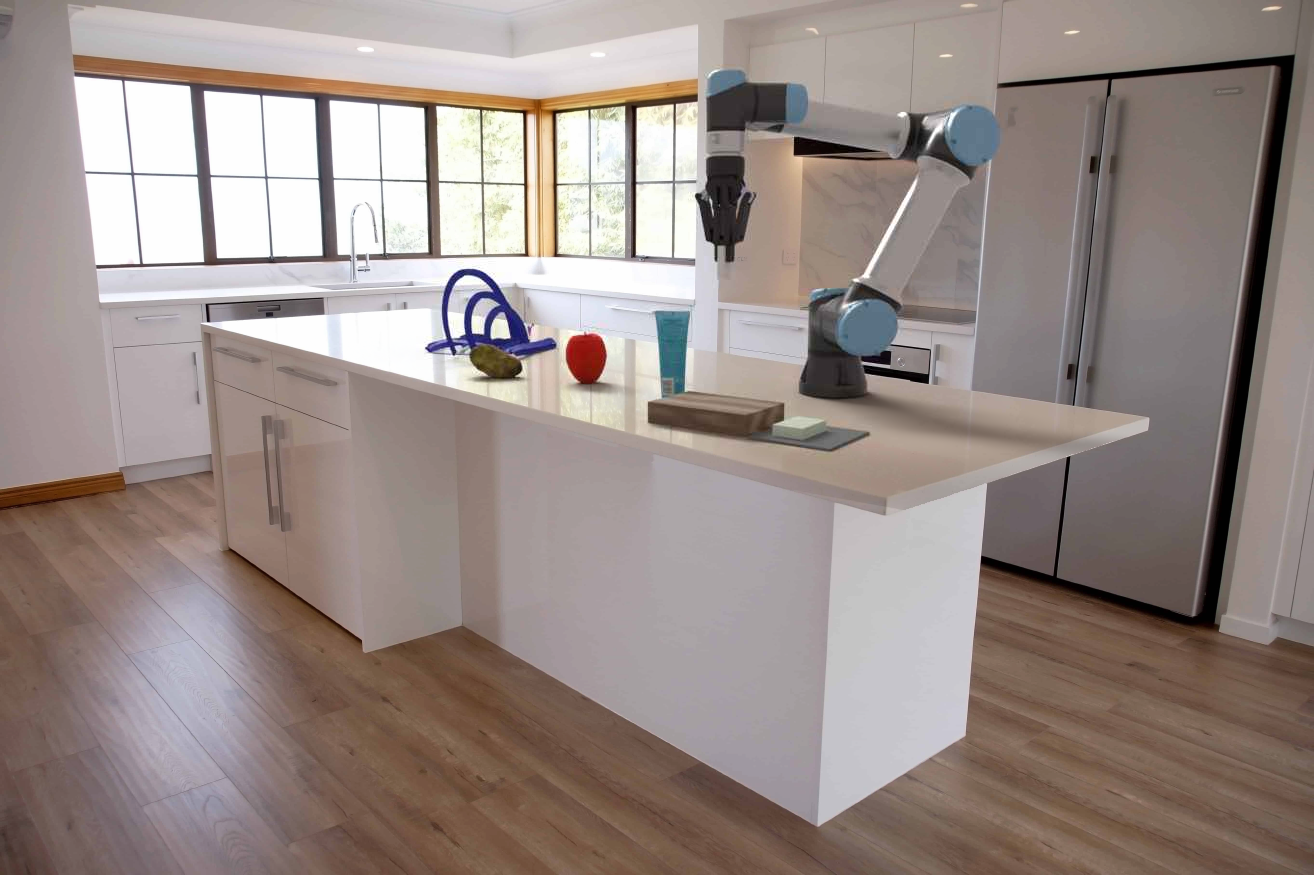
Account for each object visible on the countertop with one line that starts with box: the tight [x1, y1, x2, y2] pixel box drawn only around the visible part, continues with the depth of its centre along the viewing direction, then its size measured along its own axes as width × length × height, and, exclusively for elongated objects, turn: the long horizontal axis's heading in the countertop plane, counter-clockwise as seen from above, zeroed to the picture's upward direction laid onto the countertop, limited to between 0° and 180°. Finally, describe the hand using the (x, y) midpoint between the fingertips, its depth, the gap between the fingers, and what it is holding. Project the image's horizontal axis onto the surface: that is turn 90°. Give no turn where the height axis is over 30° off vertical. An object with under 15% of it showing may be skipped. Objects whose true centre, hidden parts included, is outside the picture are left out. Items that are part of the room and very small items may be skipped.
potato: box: [468, 344, 523, 379], centre depth 237 cm, size 8×13×8 cm, turn 57°
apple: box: [565, 331, 608, 384], centre depth 228 cm, size 10×10×12 cm
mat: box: [747, 425, 871, 452], centre depth 173 cm, size 16×16×1 cm
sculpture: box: [424, 268, 557, 357], centre depth 282 cm, size 35×34×26 cm
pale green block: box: [772, 415, 827, 440], centre depth 173 cm, size 9×6×2 cm, turn 143°
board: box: [647, 390, 786, 438], centre depth 184 cm, size 14×22×4 cm, turn 54°
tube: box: [654, 310, 691, 398], centre depth 204 cm, size 7×5×19 cm, turn 90°
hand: (724, 278), depth 191 cm, fingers closed
